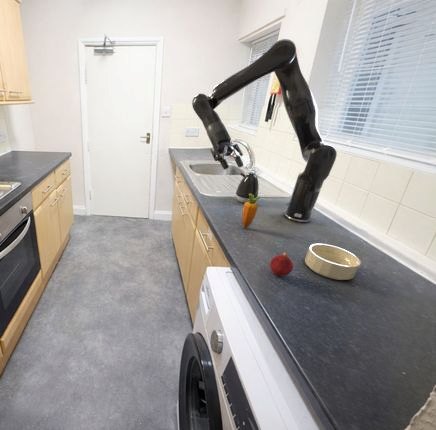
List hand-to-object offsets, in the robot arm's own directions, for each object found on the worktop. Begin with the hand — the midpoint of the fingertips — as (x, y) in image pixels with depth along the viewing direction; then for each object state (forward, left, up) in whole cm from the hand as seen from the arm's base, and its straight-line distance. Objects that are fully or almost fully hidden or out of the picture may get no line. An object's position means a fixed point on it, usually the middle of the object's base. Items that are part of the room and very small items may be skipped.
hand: (234, 167), depth 109 cm
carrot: (+9, +7, -23) cm, 26 cm away
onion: (+40, +11, -23) cm, 47 cm away
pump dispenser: (-23, +14, -23) cm, 35 cm away
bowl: (+32, +28, -23) cm, 48 cm away
